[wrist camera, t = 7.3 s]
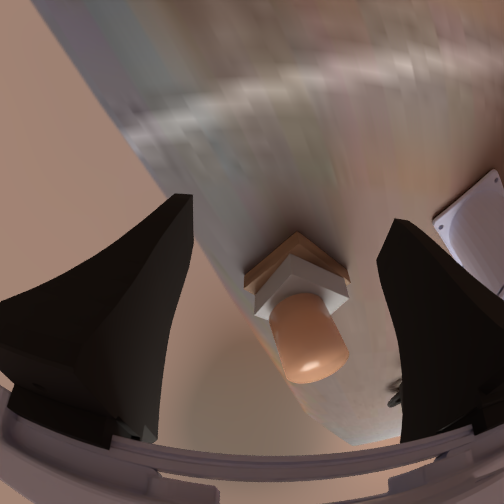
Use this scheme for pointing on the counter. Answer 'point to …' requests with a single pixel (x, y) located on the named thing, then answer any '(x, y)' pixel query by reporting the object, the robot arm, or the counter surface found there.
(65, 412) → the robot arm
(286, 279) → the slab upper
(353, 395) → the counter surface
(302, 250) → the slab lower
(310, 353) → the terracotta cylinder
